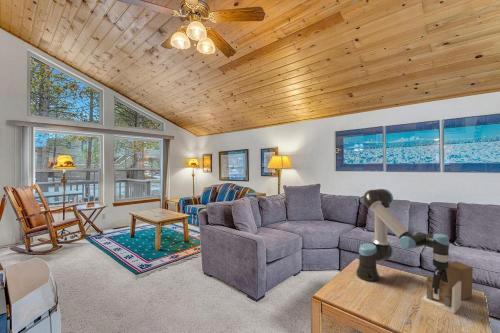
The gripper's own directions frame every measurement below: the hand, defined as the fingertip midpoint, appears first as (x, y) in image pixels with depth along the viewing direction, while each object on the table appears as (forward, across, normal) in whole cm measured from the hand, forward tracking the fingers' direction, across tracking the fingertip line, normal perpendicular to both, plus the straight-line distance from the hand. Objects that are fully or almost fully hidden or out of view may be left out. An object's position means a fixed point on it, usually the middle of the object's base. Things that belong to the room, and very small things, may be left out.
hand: (439, 295), depth 147 cm
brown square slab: (+3, 0, 0) cm, 3 cm away
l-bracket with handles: (+5, 0, 0) cm, 5 cm away
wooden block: (+5, +20, -4) cm, 21 cm away
